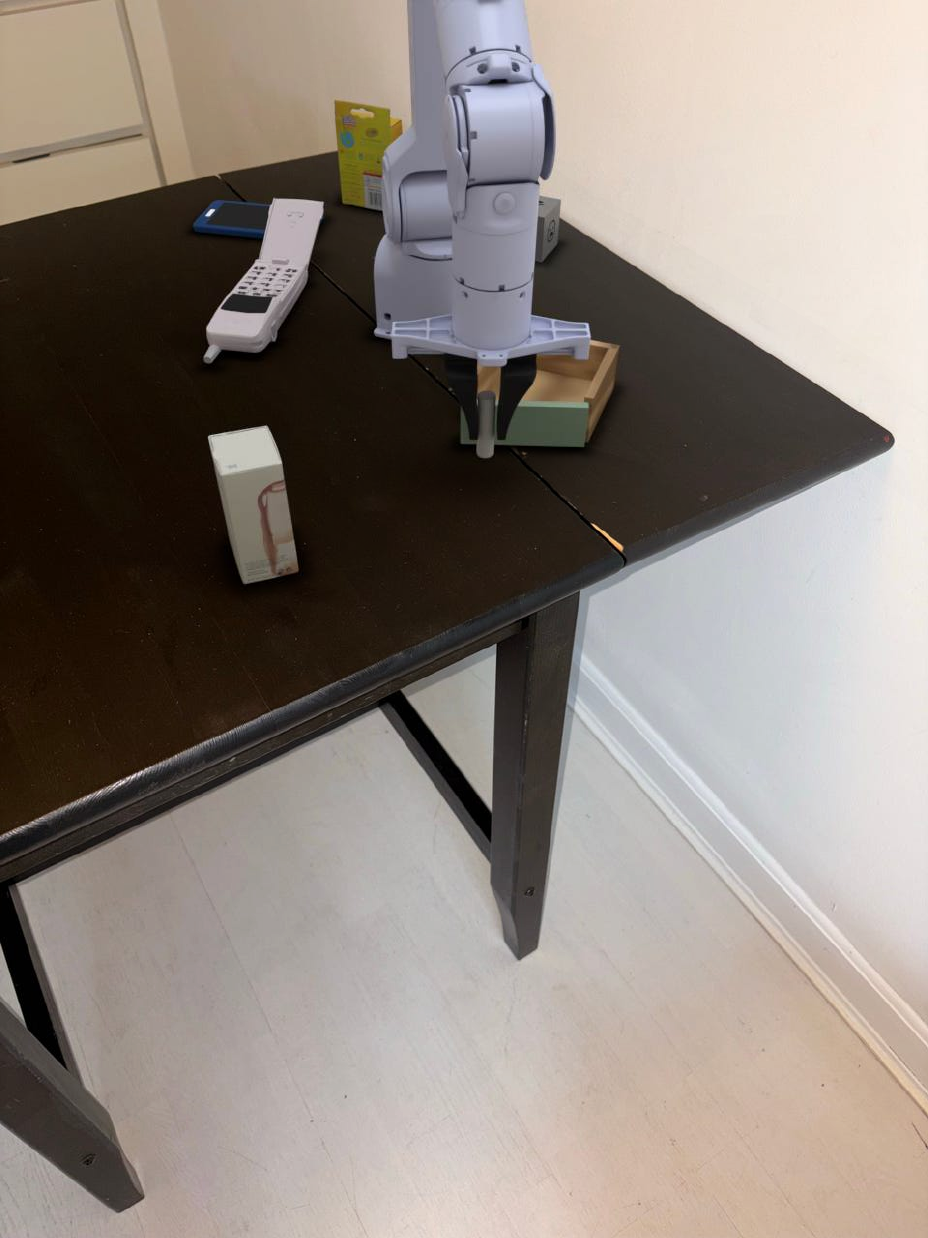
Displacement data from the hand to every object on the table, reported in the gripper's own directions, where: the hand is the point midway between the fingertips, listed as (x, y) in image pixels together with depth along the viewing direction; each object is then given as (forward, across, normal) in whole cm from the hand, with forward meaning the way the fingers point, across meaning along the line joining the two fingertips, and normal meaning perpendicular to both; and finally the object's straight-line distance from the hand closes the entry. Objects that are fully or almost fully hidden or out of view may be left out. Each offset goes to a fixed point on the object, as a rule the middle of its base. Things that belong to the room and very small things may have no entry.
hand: (487, 432), depth 76 cm
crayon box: (+4, -12, +52) cm, 54 cm away
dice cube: (+4, +6, +41) cm, 42 cm away
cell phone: (+4, -25, +46) cm, 53 cm away
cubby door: (+4, +3, +2) cm, 5 cm away
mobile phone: (+4, -22, +28) cm, 36 cm away
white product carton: (+4, -17, -10) cm, 20 cm away
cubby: (+4, +6, +11) cm, 13 cm away
